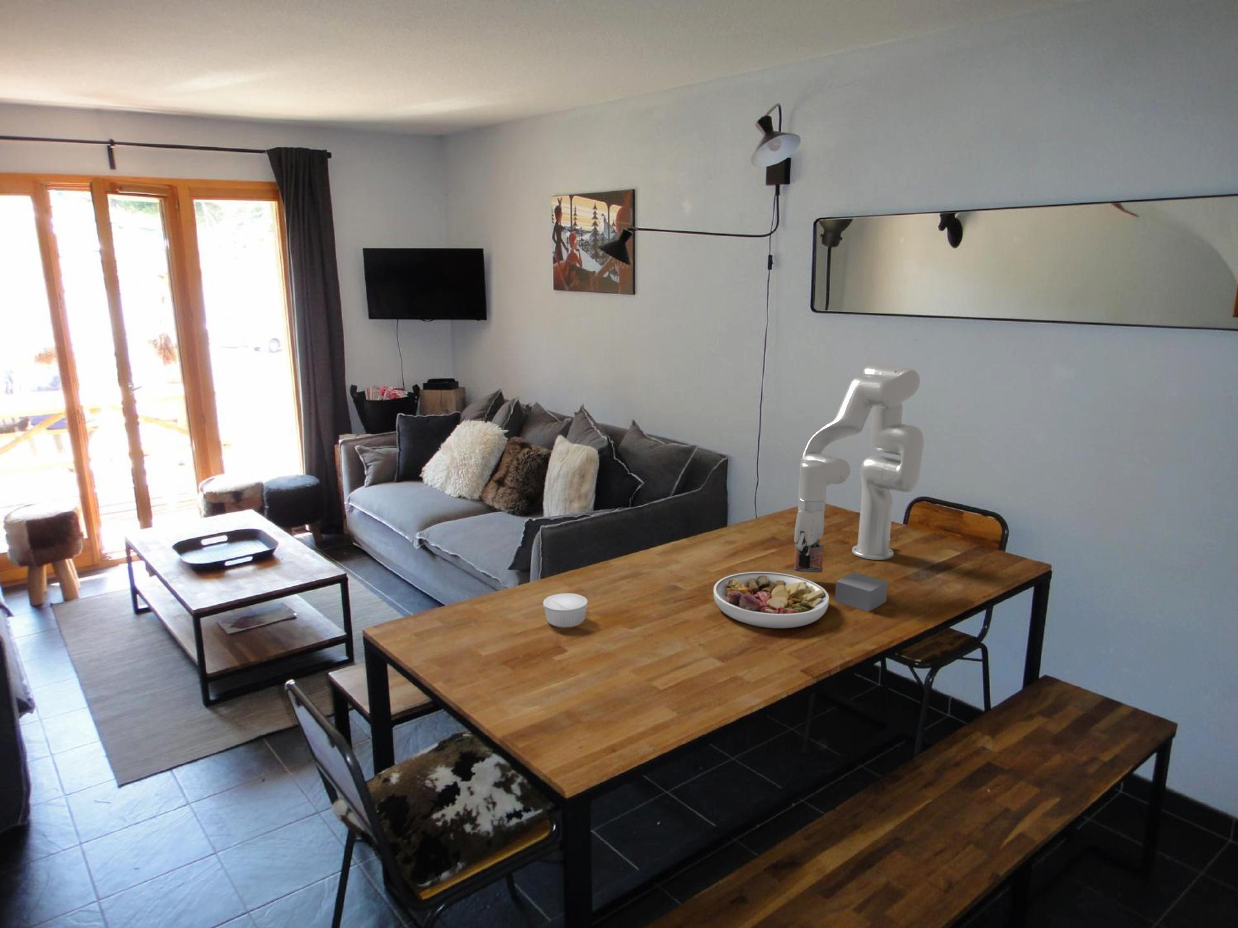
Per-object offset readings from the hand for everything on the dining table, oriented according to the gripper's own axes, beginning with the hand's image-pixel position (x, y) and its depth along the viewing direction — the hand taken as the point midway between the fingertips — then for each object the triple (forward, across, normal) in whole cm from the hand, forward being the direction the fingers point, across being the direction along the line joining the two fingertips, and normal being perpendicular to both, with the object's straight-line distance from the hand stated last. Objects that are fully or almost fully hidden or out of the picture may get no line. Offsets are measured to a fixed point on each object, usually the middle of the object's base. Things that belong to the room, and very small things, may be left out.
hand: (808, 564), depth 242 cm
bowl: (+5, +25, +1) cm, 26 cm away
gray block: (+5, +5, +18) cm, 19 cm away
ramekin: (+3, +65, -36) cm, 74 cm away
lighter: (+2, 0, 0) cm, 2 cm away
